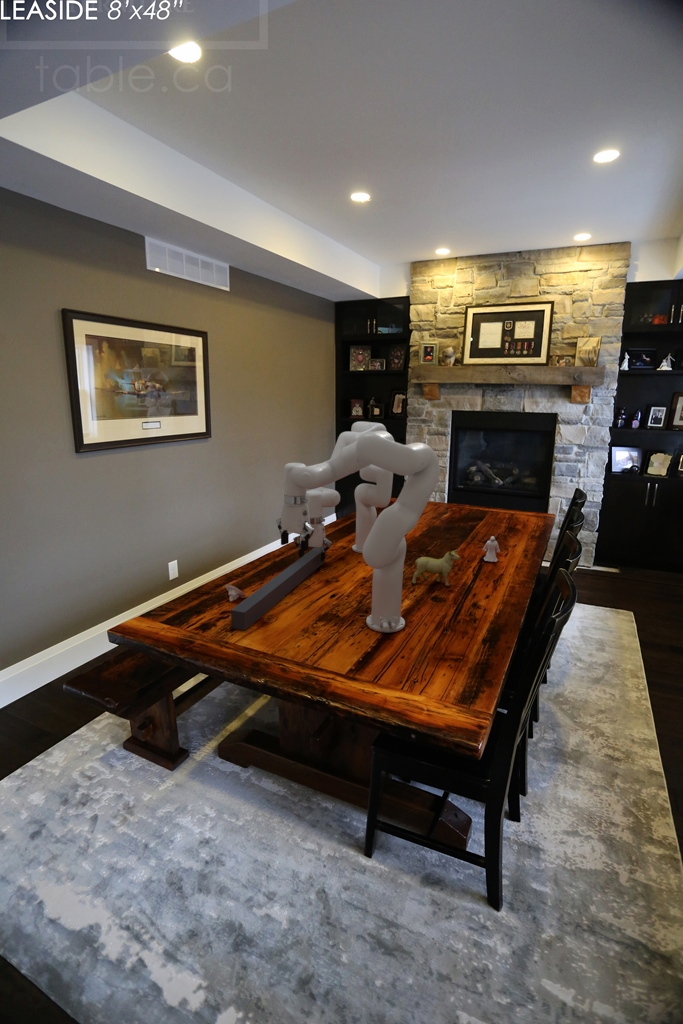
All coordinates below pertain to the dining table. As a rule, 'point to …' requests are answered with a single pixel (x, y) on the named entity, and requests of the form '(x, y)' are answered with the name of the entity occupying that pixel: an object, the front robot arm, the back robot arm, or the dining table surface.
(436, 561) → the toy
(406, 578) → the dining table surface
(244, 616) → the post
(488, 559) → the figurine
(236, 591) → the white irregular piece
